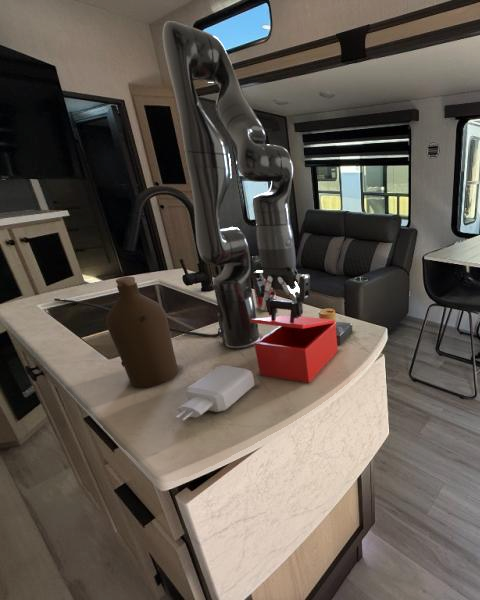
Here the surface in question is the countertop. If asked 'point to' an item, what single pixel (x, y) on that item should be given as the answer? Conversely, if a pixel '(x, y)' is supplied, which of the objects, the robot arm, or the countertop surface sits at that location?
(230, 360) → the countertop surface
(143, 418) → the countertop surface
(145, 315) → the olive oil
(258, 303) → the soda can
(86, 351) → the countertop surface
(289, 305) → the red box lid
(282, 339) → the red lidded box
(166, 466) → the countertop surface
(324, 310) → the valve knob
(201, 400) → the charger
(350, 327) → the panel
